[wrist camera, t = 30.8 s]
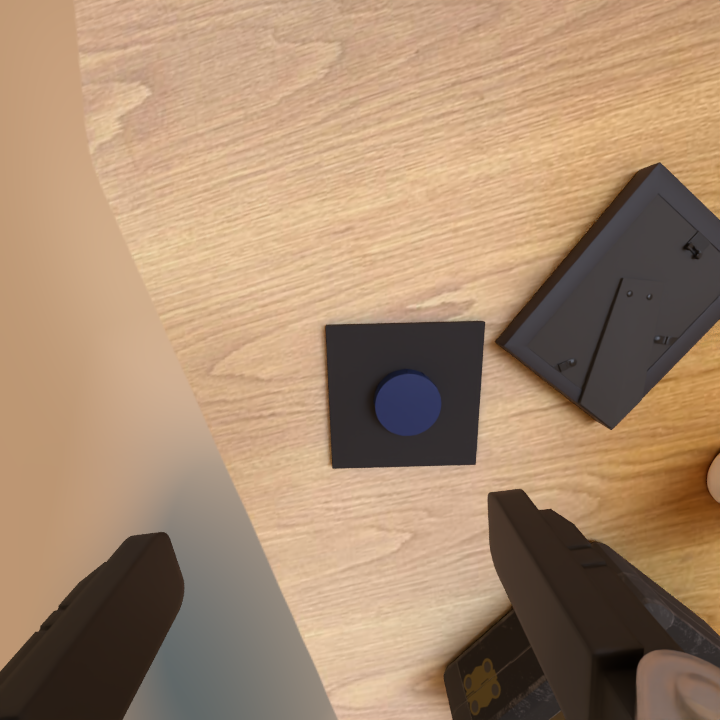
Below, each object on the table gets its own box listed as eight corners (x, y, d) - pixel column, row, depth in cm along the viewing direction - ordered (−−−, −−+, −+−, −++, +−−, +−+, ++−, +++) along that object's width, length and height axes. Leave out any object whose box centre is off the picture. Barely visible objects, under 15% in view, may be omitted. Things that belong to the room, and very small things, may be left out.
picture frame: (597, 421, 33) (743, 268, 30) (614, 431, 31) (774, 268, 27) (494, 342, 31) (639, 168, 28) (505, 347, 29) (664, 159, 25)
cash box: (552, 742, 44) (593, 838, 36) (436, 670, 41) (454, 760, 33) (709, 623, 39) (792, 705, 32) (592, 532, 36) (654, 599, 29)
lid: (445, 377, 31) (449, 382, 29) (426, 434, 32) (430, 442, 31) (383, 362, 30) (384, 366, 29) (367, 420, 32) (367, 428, 30)
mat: (333, 464, 34) (332, 468, 33) (326, 324, 30) (325, 326, 30) (473, 460, 34) (475, 464, 33) (482, 320, 30) (485, 321, 30)
